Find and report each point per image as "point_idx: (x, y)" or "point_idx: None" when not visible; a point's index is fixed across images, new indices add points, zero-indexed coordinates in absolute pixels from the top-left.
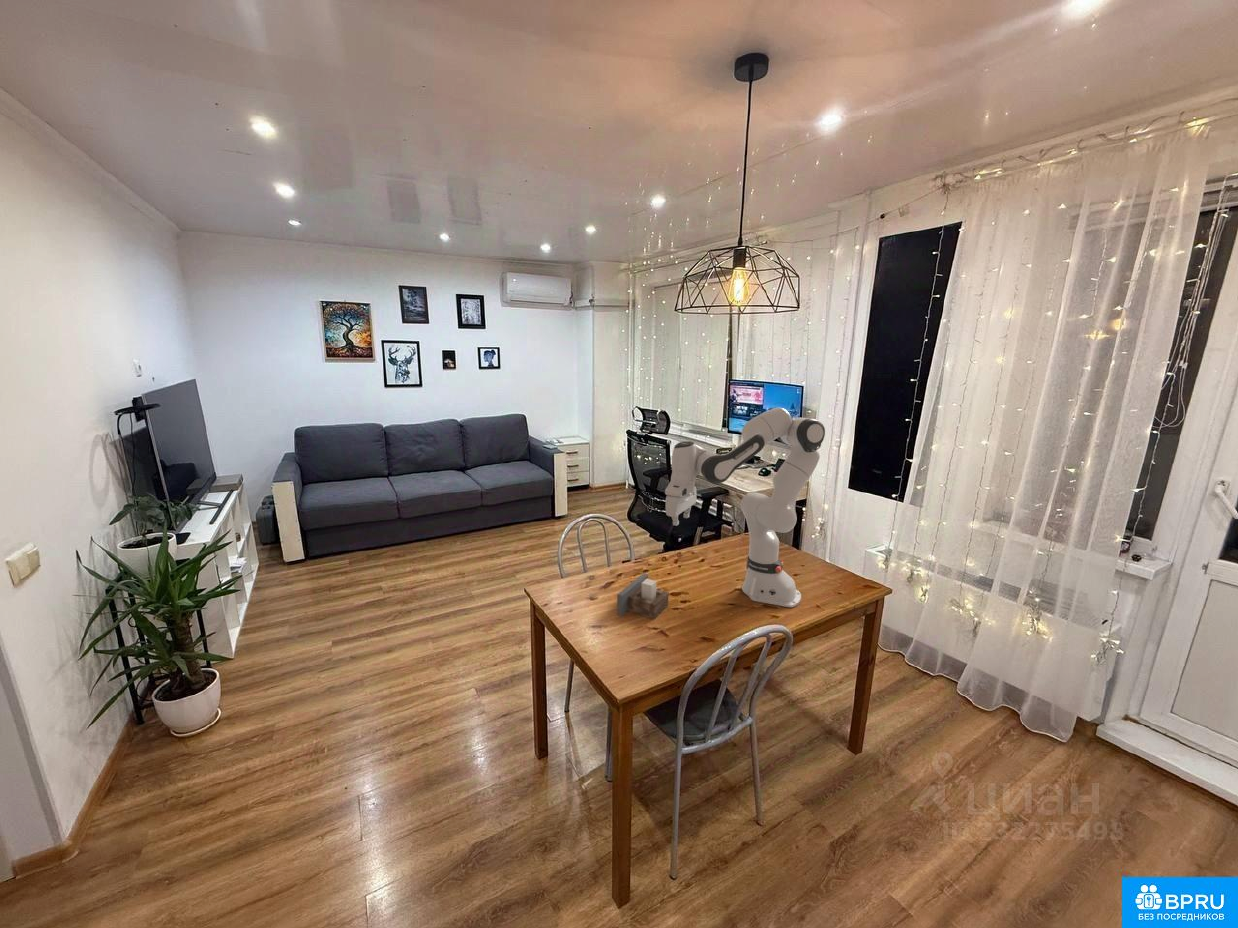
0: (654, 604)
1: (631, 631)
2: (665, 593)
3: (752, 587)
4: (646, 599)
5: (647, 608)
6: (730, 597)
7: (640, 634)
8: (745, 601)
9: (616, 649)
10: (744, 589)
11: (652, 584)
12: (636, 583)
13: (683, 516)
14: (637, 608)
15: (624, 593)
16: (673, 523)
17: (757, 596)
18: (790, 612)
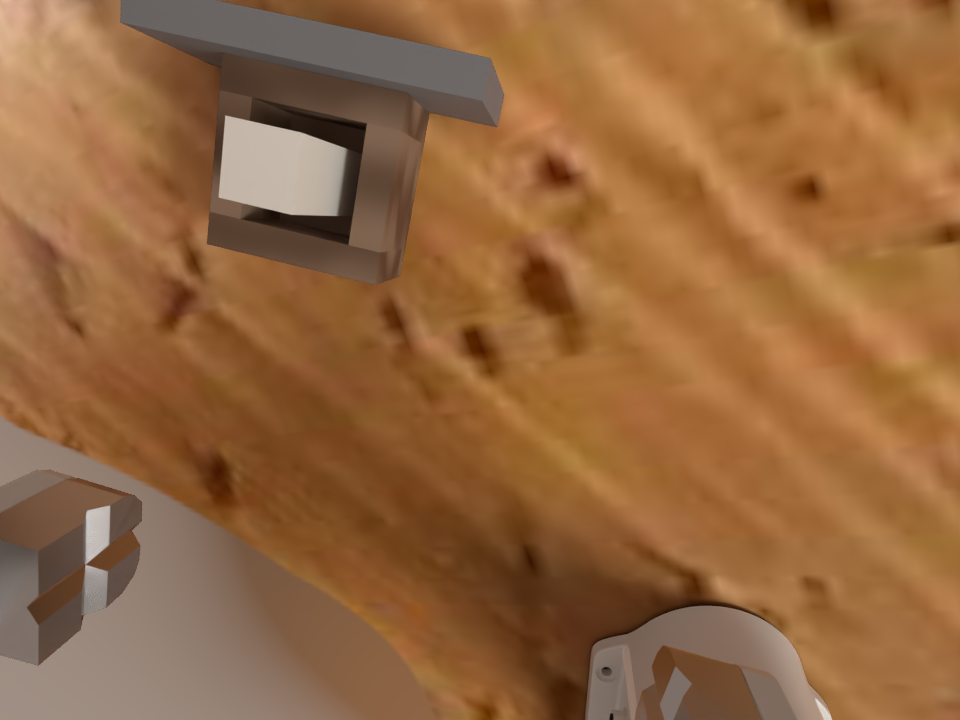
0: (212, 238)
1: (123, 161)
2: (354, 270)
3: (627, 687)
4: None
5: None
6: (596, 554)
7: (122, 210)
8: (578, 616)
9: None
10: (672, 625)
11: (238, 198)
12: (313, 59)
13: (673, 655)
14: None
15: (154, 26)
16: (19, 494)
17: (618, 674)
18: None
